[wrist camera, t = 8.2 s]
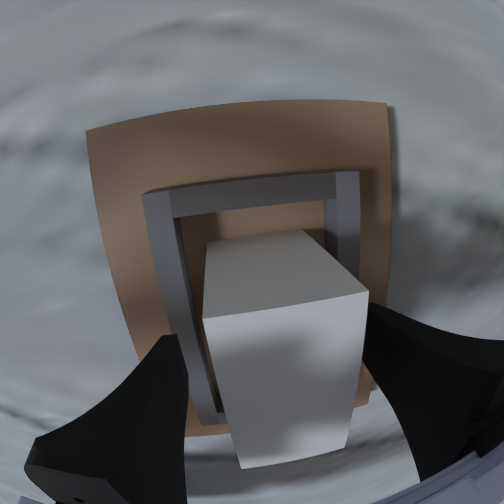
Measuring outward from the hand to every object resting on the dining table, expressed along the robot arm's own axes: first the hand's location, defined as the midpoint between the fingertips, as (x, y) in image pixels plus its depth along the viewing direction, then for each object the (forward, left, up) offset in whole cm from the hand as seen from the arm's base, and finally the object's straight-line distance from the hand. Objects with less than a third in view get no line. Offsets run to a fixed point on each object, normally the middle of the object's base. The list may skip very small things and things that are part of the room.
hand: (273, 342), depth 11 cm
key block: (0, 0, -3) cm, 3 cm away
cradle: (0, 0, -4) cm, 4 cm away
